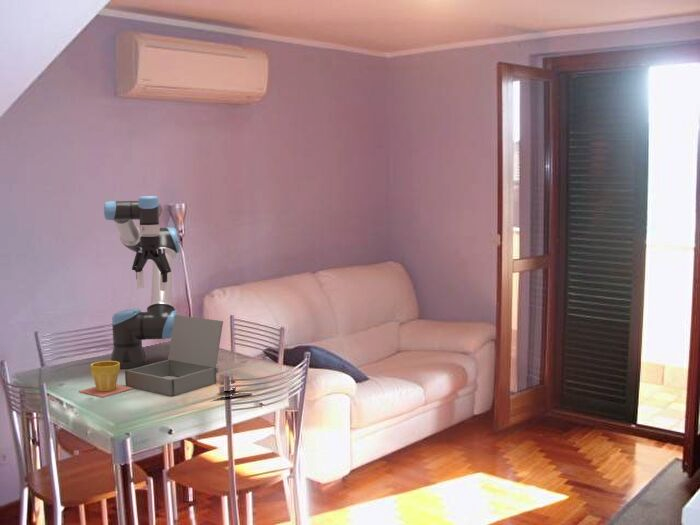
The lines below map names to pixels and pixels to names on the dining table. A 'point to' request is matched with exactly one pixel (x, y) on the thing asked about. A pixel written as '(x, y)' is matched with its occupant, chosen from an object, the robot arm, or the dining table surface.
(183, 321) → the case
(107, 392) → the mat
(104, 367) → the plant pot
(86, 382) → the dining table surface
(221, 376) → the architectural model
